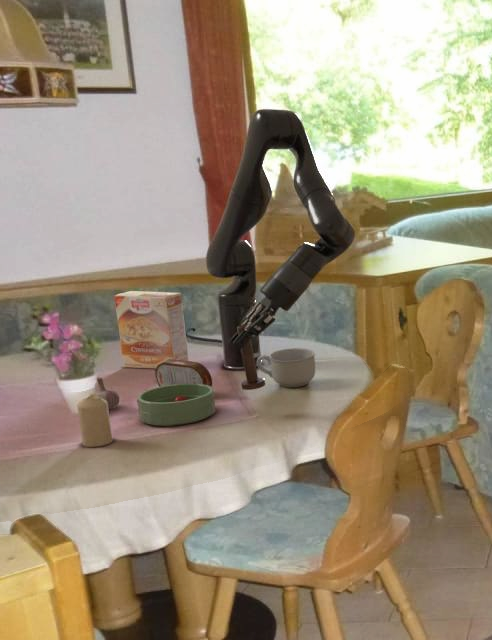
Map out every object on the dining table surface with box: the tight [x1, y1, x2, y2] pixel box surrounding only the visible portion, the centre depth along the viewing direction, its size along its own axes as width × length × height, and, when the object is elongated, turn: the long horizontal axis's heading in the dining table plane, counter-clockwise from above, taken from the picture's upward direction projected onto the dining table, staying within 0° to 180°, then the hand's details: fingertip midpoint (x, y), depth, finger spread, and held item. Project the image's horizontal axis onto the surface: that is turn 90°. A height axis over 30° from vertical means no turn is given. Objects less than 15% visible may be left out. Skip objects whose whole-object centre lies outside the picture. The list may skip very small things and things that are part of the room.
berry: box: [174, 396, 186, 402], centre depth 233 cm, size 3×3×3 cm
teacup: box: [257, 347, 316, 388], centre depth 254 cm, size 14×11×8 cm
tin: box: [154, 359, 213, 387], centre depth 244 cm, size 15×3×8 cm, turn 71°
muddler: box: [237, 325, 266, 391], centre depth 227 cm, size 5×5×14 cm
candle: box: [76, 394, 113, 448], centre depth 211 cm, size 6×6×10 cm
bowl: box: [136, 383, 217, 427], centre depth 228 cm, size 16×16×6 cm
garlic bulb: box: [89, 376, 120, 411], centre depth 233 cm, size 8×7×8 cm
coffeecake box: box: [114, 290, 190, 370], centre depth 269 cm, size 15×7×20 cm, turn 81°
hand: (235, 344), depth 225 cm, fingers closed on muddler, 2 cm apart
